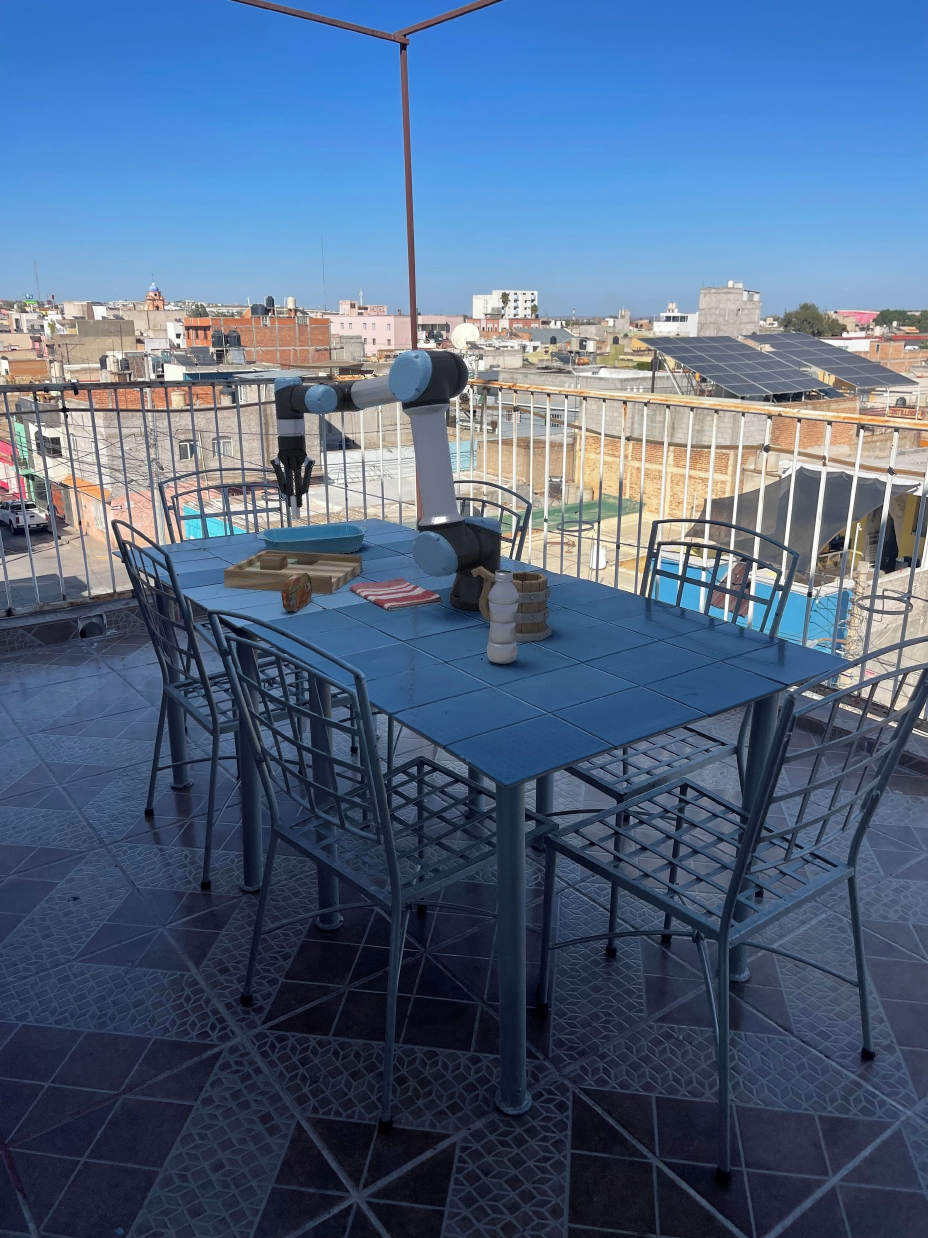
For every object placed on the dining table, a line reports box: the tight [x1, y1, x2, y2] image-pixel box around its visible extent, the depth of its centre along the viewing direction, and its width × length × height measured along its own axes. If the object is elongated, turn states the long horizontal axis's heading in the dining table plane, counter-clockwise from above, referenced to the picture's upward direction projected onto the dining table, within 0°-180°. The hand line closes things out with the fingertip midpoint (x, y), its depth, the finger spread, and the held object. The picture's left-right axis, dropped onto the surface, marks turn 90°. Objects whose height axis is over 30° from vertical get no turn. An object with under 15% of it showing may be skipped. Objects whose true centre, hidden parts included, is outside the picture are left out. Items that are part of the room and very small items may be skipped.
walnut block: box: [259, 554, 288, 571], centre depth 249 cm, size 6×6×4 cm
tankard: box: [471, 566, 553, 643], centre depth 202 cm, size 20×13×15 cm, turn 59°
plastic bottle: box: [486, 569, 519, 665], centre depth 180 cm, size 6×7×20 cm
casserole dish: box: [256, 523, 369, 554], centre depth 284 cm, size 37×22×7 cm, turn 112°
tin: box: [280, 573, 313, 613], centre depth 220 cm, size 15×3×8 cm, turn 168°
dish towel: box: [349, 577, 442, 612], centre depth 232 cm, size 17×23×3 cm
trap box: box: [223, 549, 363, 595], centre depth 248 cm, size 27×32×5 cm
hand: (296, 518), depth 243 cm, fingers closed
